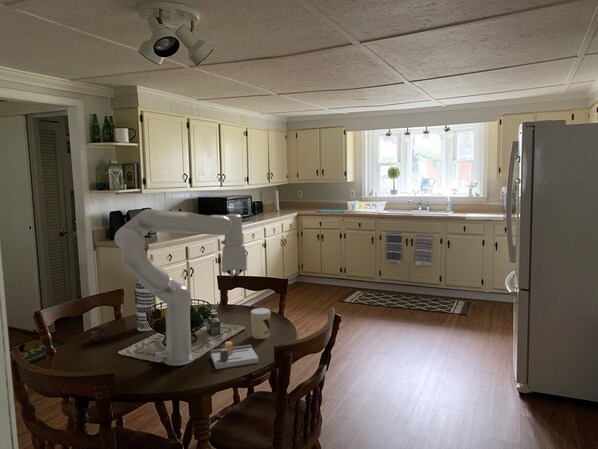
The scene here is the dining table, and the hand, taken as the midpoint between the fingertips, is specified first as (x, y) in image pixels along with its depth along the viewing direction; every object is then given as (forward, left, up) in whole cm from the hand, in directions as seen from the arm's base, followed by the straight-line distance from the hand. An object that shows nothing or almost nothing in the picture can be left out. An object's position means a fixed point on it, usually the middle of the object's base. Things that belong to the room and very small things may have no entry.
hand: (234, 284), depth 199 cm
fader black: (-9, -19, -25) cm, 33 cm away
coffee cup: (+13, +6, -27) cm, 31 cm away
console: (-4, -16, -27) cm, 32 cm away
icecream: (-57, +26, -27) cm, 69 cm away
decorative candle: (-37, +36, -27) cm, 59 cm away
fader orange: (-6, -13, -25) cm, 29 cm away
